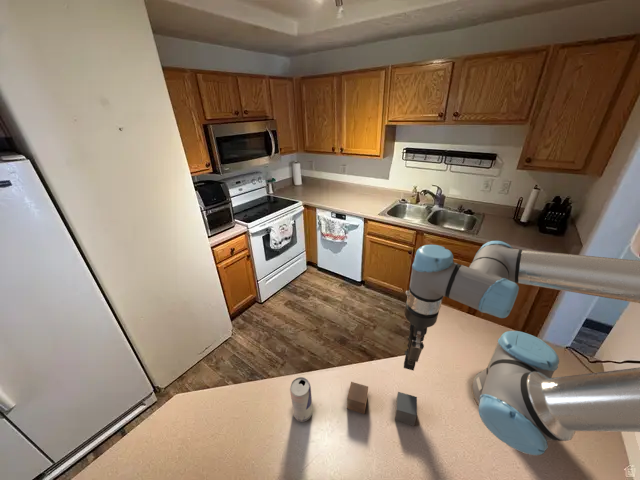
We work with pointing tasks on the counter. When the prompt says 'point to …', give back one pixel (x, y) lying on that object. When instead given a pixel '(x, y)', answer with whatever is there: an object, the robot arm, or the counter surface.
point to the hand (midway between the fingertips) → (408, 367)
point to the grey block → (406, 408)
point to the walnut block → (357, 397)
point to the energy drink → (301, 399)
